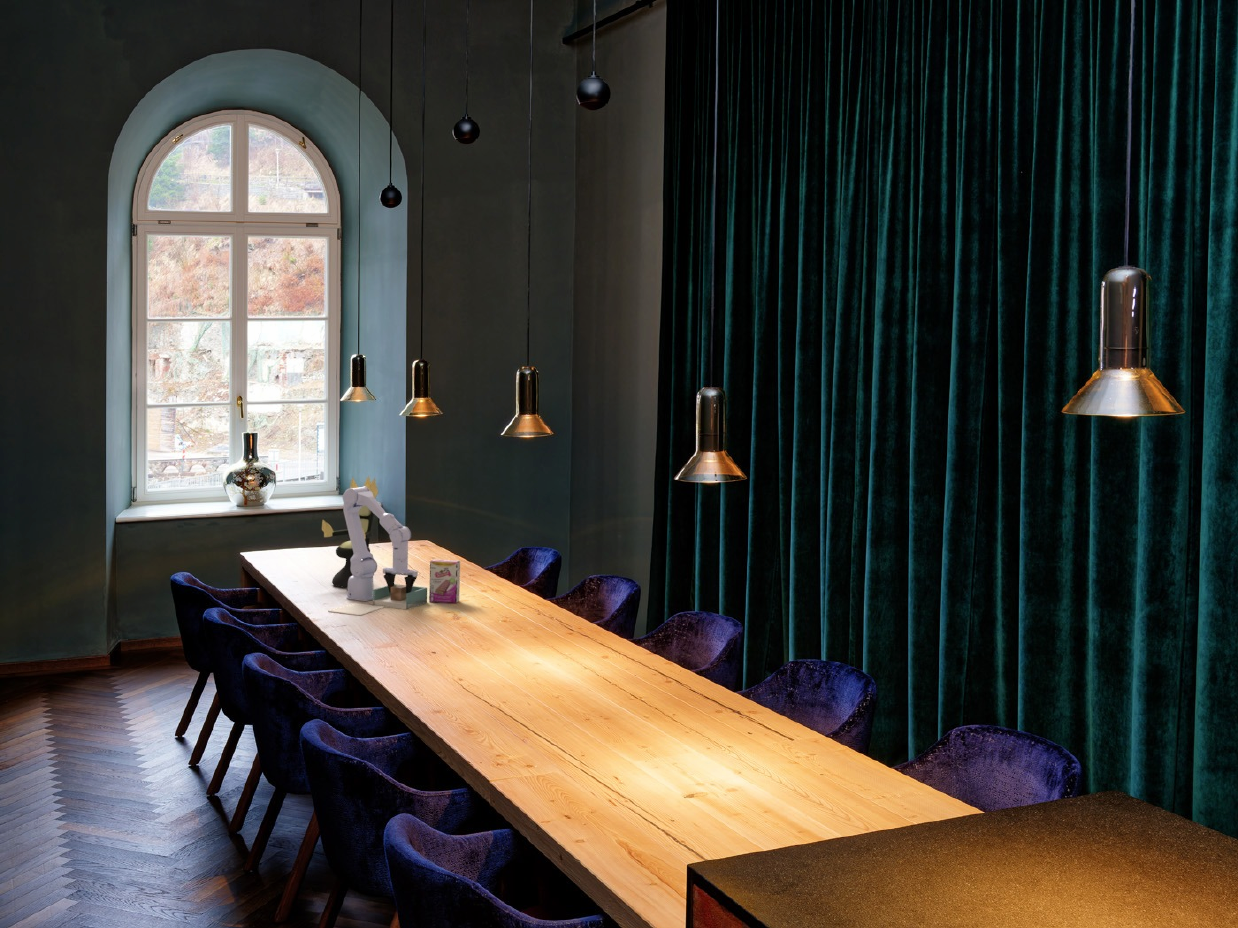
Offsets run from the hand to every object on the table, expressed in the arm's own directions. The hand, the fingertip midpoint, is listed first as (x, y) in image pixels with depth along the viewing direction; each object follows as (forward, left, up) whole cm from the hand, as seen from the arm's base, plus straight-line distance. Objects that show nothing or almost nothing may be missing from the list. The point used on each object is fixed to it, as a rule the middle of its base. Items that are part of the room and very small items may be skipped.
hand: (400, 593), depth 461 cm
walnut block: (0, 0, -2) cm, 2 cm away
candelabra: (-38, +25, -5) cm, 45 cm away
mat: (-9, -16, -4) cm, 19 cm away
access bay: (0, +1, -4) cm, 4 cm away
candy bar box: (+12, +13, -5) cm, 18 cm away
